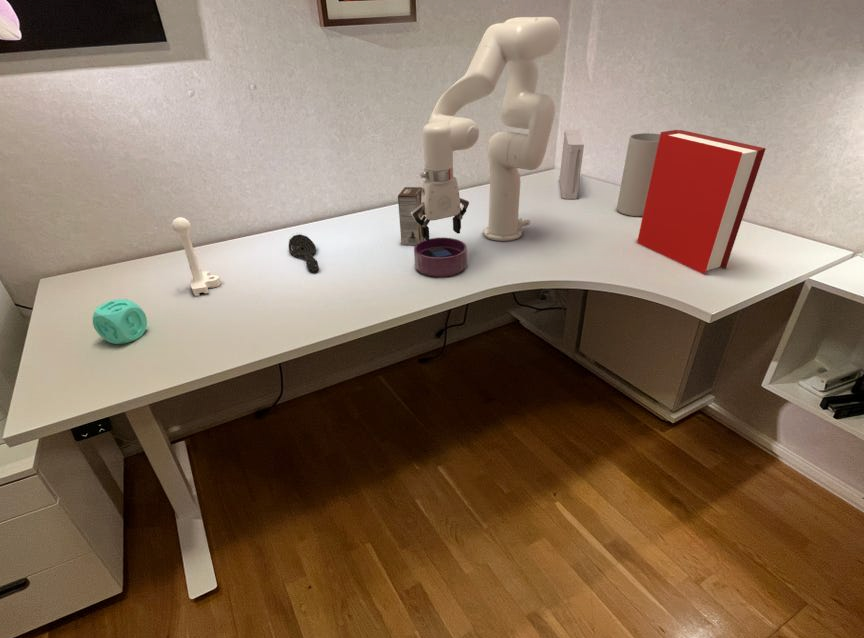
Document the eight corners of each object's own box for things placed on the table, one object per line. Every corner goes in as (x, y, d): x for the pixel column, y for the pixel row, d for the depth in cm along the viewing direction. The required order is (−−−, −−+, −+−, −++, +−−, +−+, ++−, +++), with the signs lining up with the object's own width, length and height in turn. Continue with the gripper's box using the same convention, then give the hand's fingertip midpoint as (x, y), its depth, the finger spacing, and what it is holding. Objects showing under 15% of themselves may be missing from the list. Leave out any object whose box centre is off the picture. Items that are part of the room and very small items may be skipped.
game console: (561, 199, 195) (567, 144, 184) (558, 179, 217) (564, 129, 206) (576, 199, 194) (584, 144, 183) (572, 179, 216) (578, 129, 205)
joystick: (195, 279, 146) (172, 212, 134) (222, 276, 148) (202, 208, 136) (191, 297, 137) (166, 226, 126) (219, 292, 139) (198, 222, 127)
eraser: (442, 258, 151) (441, 246, 149) (452, 267, 146) (452, 254, 143) (428, 261, 149) (427, 249, 147) (438, 270, 144) (438, 257, 142)
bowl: (452, 252, 156) (452, 234, 153) (475, 271, 145) (476, 251, 141) (407, 262, 151) (406, 243, 148) (427, 282, 140) (427, 262, 137)
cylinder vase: (609, 209, 184) (621, 136, 170) (635, 203, 188) (649, 131, 174) (633, 219, 175) (649, 142, 160) (660, 213, 179) (678, 138, 164)
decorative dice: (126, 325, 126) (113, 296, 121) (152, 329, 124) (140, 300, 119) (100, 342, 120) (86, 312, 115) (127, 346, 118) (114, 317, 113)
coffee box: (407, 234, 170) (404, 186, 161) (426, 235, 169) (424, 186, 160) (400, 244, 163) (397, 195, 153) (420, 245, 162) (417, 195, 152)
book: (725, 268, 141) (765, 148, 123) (704, 274, 139) (742, 152, 120) (653, 236, 162) (678, 129, 143) (634, 241, 159) (657, 132, 141)
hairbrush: (299, 267, 144) (284, 234, 162) (301, 278, 146) (286, 244, 165) (328, 261, 147) (309, 229, 165) (329, 273, 149) (311, 240, 167)
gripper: (414, 183, 128) (419, 246, 138) (474, 172, 133) (474, 233, 143) (403, 176, 133) (408, 237, 143) (461, 165, 138) (462, 225, 149)
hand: (441, 235), depth 143 cm, fingers open, 9 cm apart
